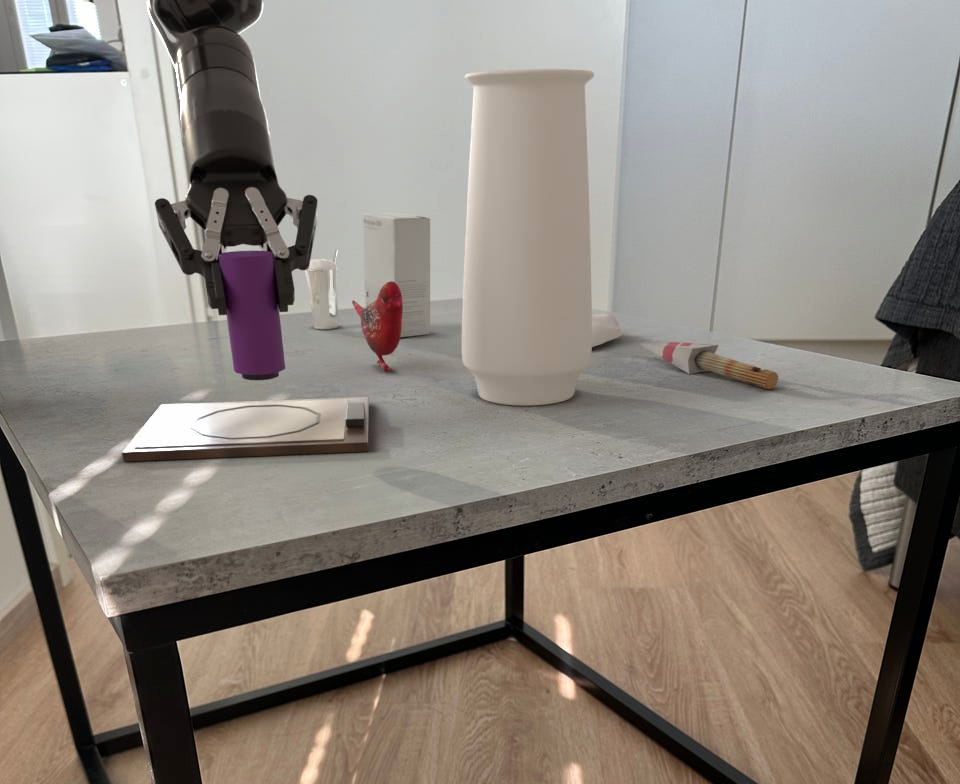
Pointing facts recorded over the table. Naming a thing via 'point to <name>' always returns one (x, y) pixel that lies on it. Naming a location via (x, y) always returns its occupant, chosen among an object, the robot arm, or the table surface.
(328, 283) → the milkshake
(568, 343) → the vase
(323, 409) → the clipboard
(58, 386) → the table surface
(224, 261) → the dot marker
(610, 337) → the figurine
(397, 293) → the decorative bird figurine
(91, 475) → the table surface
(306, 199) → the robot arm
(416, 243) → the cosmetic box
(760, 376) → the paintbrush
